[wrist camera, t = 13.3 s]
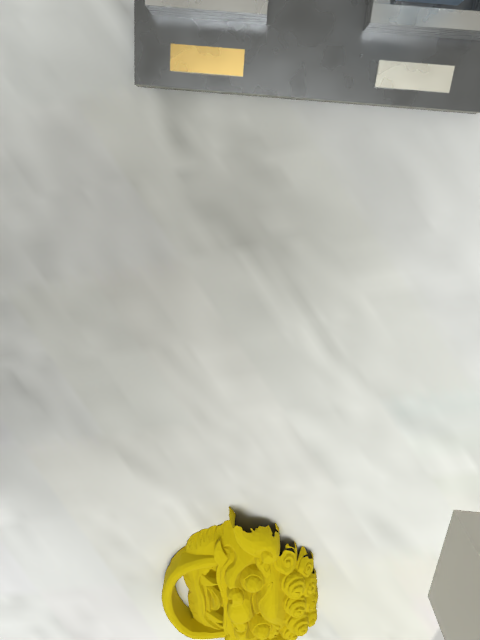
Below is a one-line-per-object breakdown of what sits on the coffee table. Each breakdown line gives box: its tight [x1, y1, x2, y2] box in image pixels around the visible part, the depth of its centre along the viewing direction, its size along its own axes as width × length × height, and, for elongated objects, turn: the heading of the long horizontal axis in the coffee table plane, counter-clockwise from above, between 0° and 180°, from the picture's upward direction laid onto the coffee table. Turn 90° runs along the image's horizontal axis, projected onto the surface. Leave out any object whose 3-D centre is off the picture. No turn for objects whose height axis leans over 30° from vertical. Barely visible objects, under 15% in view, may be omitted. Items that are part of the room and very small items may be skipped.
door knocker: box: [162, 507, 318, 640], centre depth 46 cm, size 16×16×4 cm
